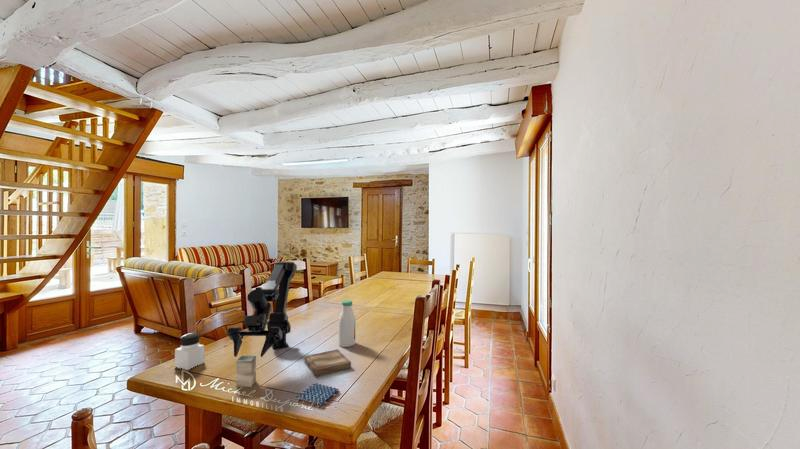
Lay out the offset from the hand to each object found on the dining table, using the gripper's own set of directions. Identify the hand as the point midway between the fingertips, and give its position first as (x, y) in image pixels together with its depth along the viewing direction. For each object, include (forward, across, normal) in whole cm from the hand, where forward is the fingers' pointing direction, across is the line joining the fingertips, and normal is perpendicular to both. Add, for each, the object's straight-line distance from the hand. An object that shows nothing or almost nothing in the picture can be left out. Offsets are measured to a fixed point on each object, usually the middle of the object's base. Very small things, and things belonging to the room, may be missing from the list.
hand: (248, 356), depth 112 cm
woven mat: (+14, +27, 0) cm, 30 cm away
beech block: (+7, 0, +5) cm, 9 cm away
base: (-2, +26, +15) cm, 30 cm away
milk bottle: (-17, +31, +30) cm, 46 cm away
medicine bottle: (-3, -28, +16) cm, 33 cm away
